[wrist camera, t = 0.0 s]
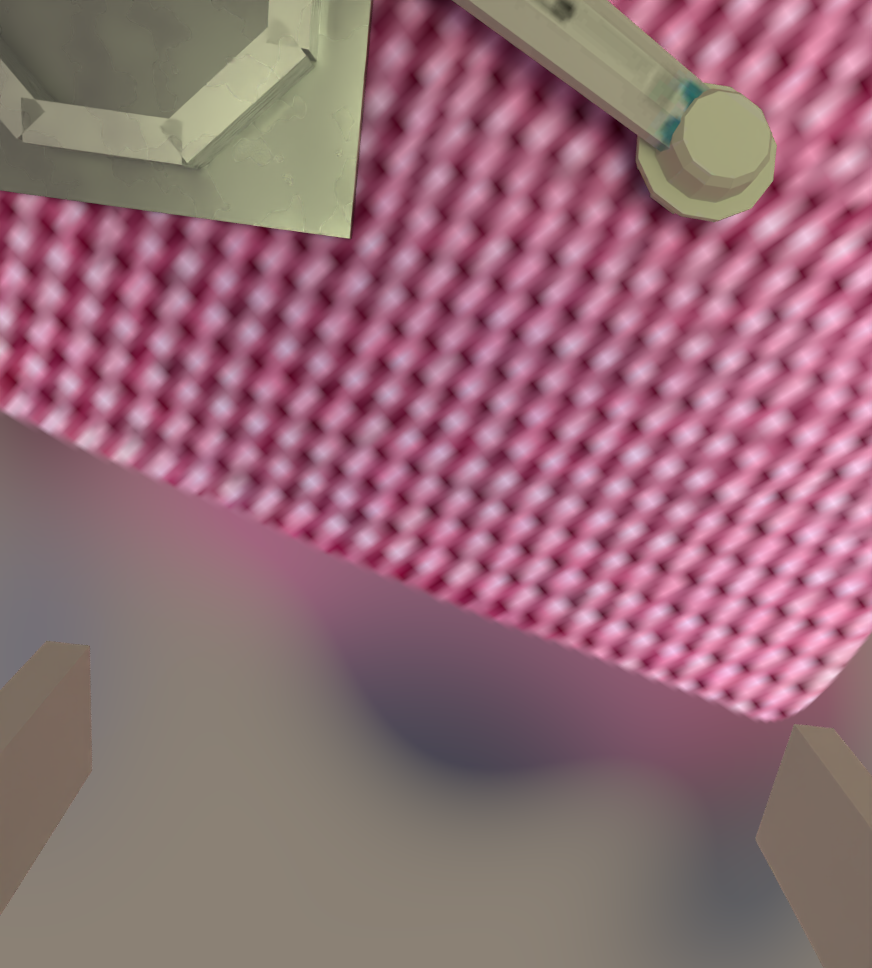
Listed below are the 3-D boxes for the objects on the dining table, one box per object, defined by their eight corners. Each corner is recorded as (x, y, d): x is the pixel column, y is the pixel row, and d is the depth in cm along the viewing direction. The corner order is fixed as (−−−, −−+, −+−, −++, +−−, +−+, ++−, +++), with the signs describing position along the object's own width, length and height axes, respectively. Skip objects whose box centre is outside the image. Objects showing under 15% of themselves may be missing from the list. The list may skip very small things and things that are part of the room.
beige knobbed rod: (314, -296, 27) (843, 118, 29) (350, -178, 34) (780, 156, 35) (240, -158, 29) (752, 234, 30) (289, -69, 35) (707, 250, 37)
